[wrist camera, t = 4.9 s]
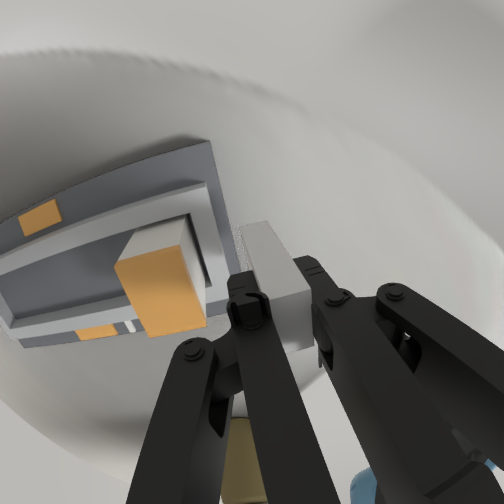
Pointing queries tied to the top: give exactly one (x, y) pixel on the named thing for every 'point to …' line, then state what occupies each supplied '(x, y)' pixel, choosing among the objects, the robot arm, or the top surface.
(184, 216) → the fader tab
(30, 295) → the console board
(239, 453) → the squeeze bottle
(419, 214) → the top surface
